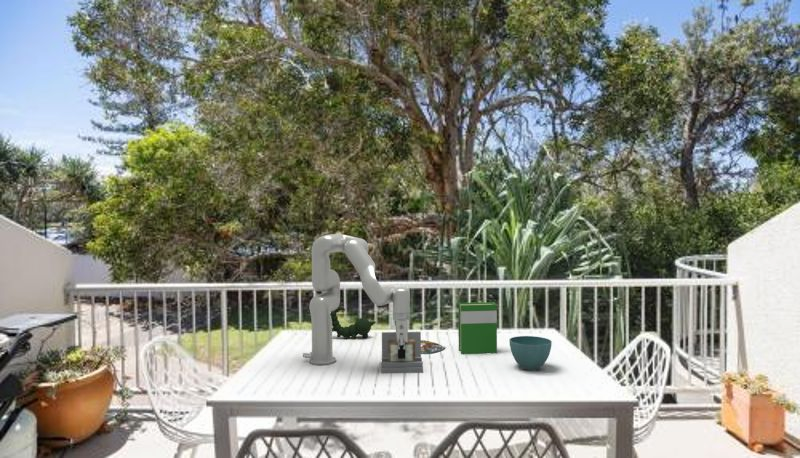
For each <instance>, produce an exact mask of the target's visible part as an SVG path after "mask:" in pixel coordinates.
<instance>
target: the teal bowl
mask: <svg viewBox="0 0 800 458" xmlns="http://www.w3.org/2000/svg"><path fill="white" fill-rule="evenodd" d="M508 342H509V347H510V351H511V354H512V357H513V359H514V360H515V362H516V364H517V365H518V366H519V367H520V368H521V369H522V368H523V369H522V370H525V369H528V370H527V371H538V370H540V369H541V368H542V367H543V366H544V365H545V363H546V362H547V360H548V359H549V356H550V353H551V349H552V343H553V341H552V340H551V339H549V338H548V337H547V338H546V337H541V336H533V335H519V336H513V337H511V338H509V341H508ZM537 369H538V370H537Z"/></svg>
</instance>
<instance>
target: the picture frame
mask: <svg viewBox="0 0 800 458" xmlns="http://www.w3.org/2000/svg"><path fill="white" fill-rule="evenodd" d="M399 342H400V341H399ZM403 342H404V341H403ZM403 348H404V347H403ZM398 349H399V348H398V343H397V340H388V362H413V361H415V339H408V342H407V343H406V342H405V359H398Z"/></svg>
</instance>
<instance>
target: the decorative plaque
mask: <svg viewBox="0 0 800 458" xmlns="http://www.w3.org/2000/svg"><path fill="white" fill-rule="evenodd" d="M445 349H446V347H445V346H444V345H442V344H441V343H440V344H439V343H437V342H432V341H429V340H424V339H423V340H422V339H421V355H430V354H435V353H439V352H442V351H444V350H445Z"/></svg>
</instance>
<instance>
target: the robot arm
mask: <svg viewBox="0 0 800 458" xmlns="http://www.w3.org/2000/svg"><path fill="white" fill-rule="evenodd" d="M369 248H370V247H369V243H368V242H367V241H366V240H365V239H363V238H361V237H360V238H359V237H355V236H352V235H348V234H342V233H331V234H325V235H322V236H320V237H318V238H317V239H315V240H314V242H313V244H312V246H311V284H312V288H313V289H314V290H315V291H316V292H321V293H320V294H316V295H315V296H313V297H312V298H311V300H310V302H309V305H308V307H309V313H310V320H311V352H310V351H309V352H302V357H303V358H305V359H308V358H309V359H308V363H309V364H311V365H317V366H319V365H320V366H321V365H322V366H324V365H331V364H333V363H336V361H337V358H336V357H335V356H333V332H332V328H333V326H332V320H331V316H330V313H331V312H332V311H335V310H336V309H337V308H338V307H340V302H341V279H340V276H339V273H338V272H337V271H335V269H331V259H330V256H329V254H332V253H338V252H340V253H345V256H346V257H347V259H348V260H349V262H351V264H352V265H353V267H354V268H355V270H356V272H357V273H358V274H359V278H360V282H361V285H362V287H363V290H364V292H365V293H366V295H367V296H368V298H369V299H370V301H371V302H372V303H373V304H374V305H375V306H378V307H379V306H380V307H382V306H385V305H387V304H390V303H391V304H392V320H393V321H395V332H396V339H397V343H398V348H399V349H398V359H405V342H406V343H407V342H408V332H409V328H408V327H409V324H408V323H409V322H408V321H410V317H411V315H410V311H411V310H410V306H411V305H410V301H411V300H410V298H411V297H410V294H411V293H410V289H409V288H407V287H394V286H390V285H389V286H388V285H387V286H383V287H382V286H381V284H380V283H379V281H378V280H377V278H376V273H375V271H376V263H375V262H374V260H373V259H372V258H371V256H370V255H369V253H368V252H369V250H370V249H369ZM399 341H400V342H399ZM403 341H404V342H403ZM403 347H404V348H403Z"/></svg>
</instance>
